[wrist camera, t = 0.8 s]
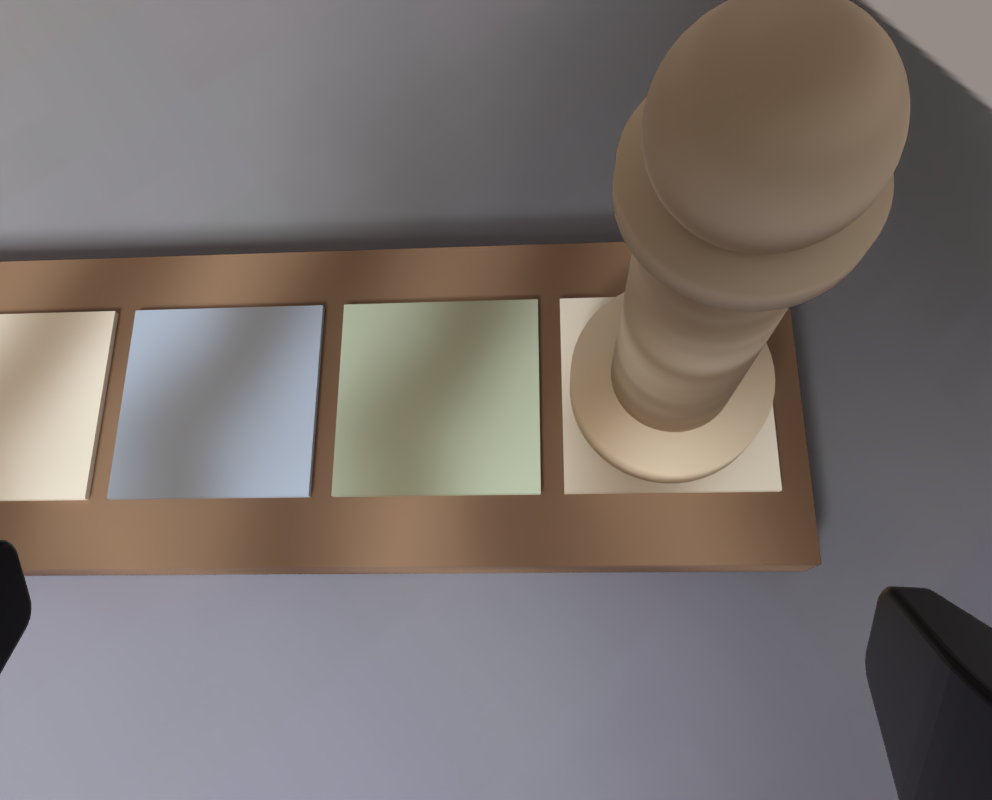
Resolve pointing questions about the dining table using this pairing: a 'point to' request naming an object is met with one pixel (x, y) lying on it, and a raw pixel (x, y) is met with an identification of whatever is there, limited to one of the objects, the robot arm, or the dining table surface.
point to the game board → (353, 422)
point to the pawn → (735, 223)
